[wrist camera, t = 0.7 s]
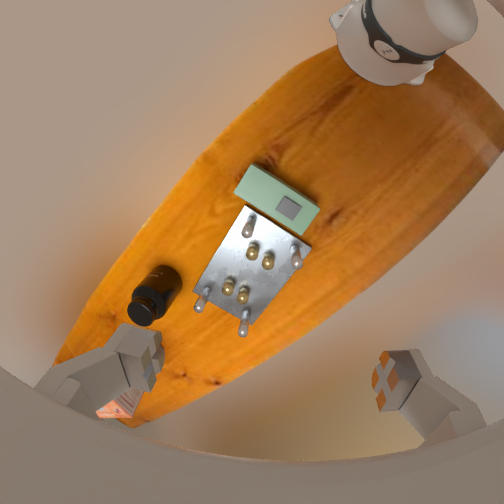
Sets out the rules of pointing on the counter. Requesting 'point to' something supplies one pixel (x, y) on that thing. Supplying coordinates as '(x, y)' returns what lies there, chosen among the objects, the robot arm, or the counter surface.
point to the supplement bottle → (154, 296)
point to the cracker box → (122, 405)
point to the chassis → (250, 267)
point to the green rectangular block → (277, 198)
